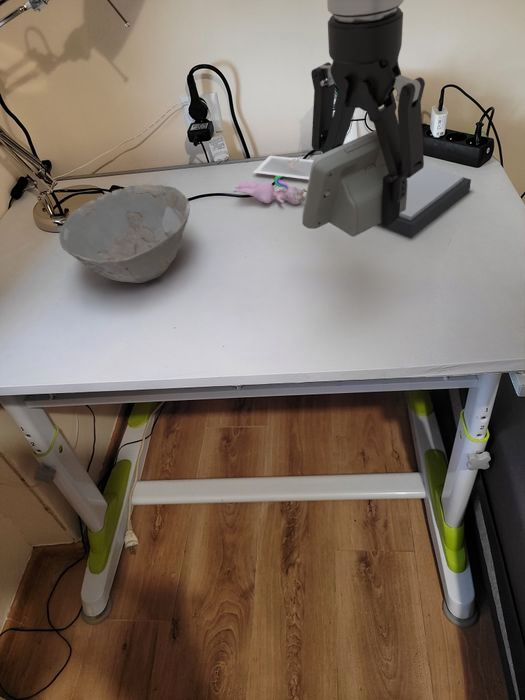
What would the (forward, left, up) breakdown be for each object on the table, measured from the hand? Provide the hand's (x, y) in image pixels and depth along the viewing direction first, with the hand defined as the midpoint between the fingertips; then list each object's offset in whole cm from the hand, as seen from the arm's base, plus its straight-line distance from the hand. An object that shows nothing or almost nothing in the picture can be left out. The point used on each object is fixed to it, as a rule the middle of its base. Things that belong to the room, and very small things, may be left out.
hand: (363, 211), depth 67 cm
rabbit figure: (+32, -12, -15) cm, 38 cm away
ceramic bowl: (+36, +17, -15) cm, 43 cm away
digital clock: (+1, 0, 0) cm, 1 cm away
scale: (+12, -26, -15) cm, 32 cm away
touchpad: (+37, -23, -15) cm, 46 cm away
